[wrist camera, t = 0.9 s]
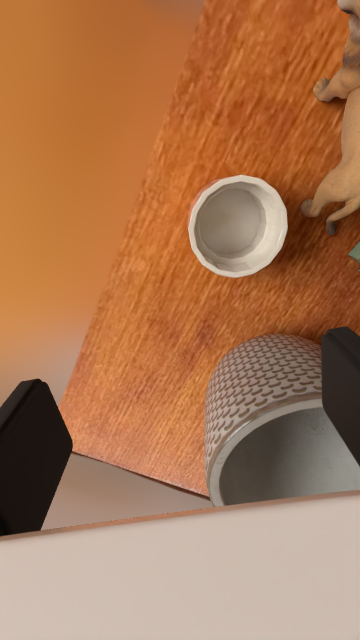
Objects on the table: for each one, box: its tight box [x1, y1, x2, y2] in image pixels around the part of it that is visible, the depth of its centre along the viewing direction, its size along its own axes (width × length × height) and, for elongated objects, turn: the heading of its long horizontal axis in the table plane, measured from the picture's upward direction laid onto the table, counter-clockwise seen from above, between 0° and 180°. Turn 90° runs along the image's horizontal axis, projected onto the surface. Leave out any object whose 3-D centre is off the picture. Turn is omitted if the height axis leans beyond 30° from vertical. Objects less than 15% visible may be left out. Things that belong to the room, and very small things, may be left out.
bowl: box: [187, 175, 288, 278], centre depth 24 cm, size 7×7×5 cm
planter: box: [204, 333, 360, 507], centre depth 26 cm, size 14×14×13 cm
